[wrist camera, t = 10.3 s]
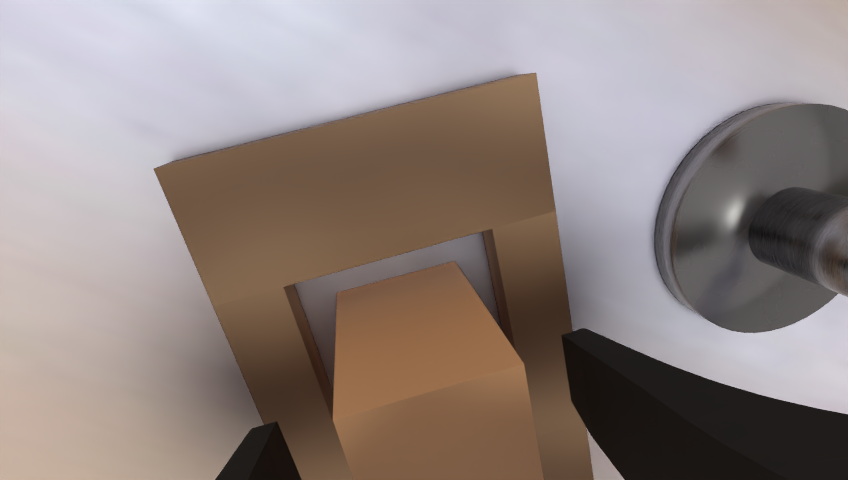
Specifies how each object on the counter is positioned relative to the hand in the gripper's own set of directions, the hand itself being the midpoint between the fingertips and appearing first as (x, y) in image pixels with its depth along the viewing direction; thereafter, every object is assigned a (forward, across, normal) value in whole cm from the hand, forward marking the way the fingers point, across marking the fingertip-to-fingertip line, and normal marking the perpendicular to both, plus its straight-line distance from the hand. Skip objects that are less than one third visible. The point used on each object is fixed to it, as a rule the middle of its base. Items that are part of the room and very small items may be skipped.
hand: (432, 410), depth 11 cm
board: (+3, 0, 0) cm, 3 cm away
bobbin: (+3, -12, -1) cm, 12 cm away
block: (+3, 0, 0) cm, 3 cm away
